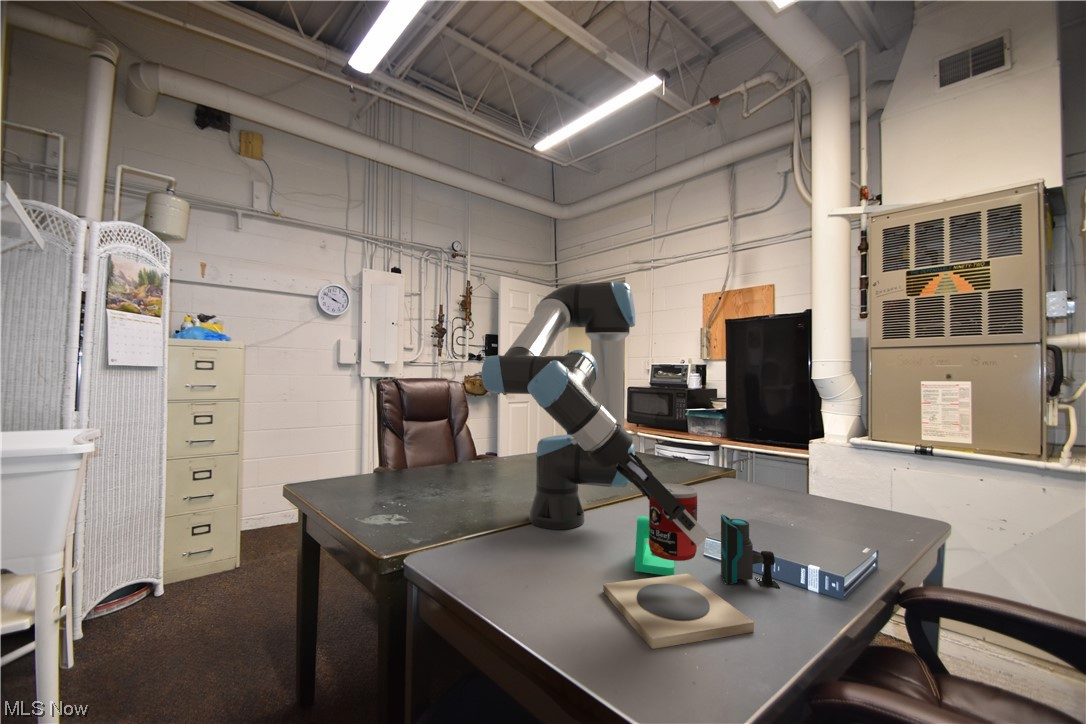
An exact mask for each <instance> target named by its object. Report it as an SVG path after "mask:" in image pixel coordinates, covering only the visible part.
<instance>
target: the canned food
mask: <svg viewBox="0 0 1086 724" xmlns="http://www.w3.org/2000/svg"><path fill="white" fill-rule="evenodd" d="M661 484H662V485H663V486H664V487H665V488H666V489H667V490H668V491H669V492H670V493H671V494H672V495H673V496H674V497H675V498H676V499H677V500H678V501H679V502H680V503H681V504H683V505H684V507H685V508H686V509H685V510H686V511H687V512H688V513H689V514H690V515H691V516H692V517H693V518H694V519H695V520H696V521H697V522H698V490H697V489H696V488H694V487H691V486H690V485H689V486H688V485H685V484H678V483H661ZM648 501H649V502H648V504H649V505H648V508H649V509H648V510H649V511H648V512H649V513H648V514H649V516H648V517H649V539H648V543H649V547H650V551H651V552H652V553H653V554H654V555H655V556H657V557H660V558H663V559H667V560H673V561H675V562H683V561H684V562H685V561H689V560H692V559H693V558H695V557H696V554H697V549H698V546H697V545H696V544H695V543H694V542H693V541H692V540H691V539H690V538H689V537H688V536H687V535H686V534H685V533H684V532H683V531H682V530H681V529H680V528H679V527H678V526H677V525H676V523H675V522H674V521H673V520H672V521H671V522H669V521H668V520H667V519H668V518H669V515H668V514H667V513H666V512H665V511H664V510H663V509H662V508H661V507H660V506H659V505H658V504H657V503H656V502H655V501H654V500H653V499H652V498H651V497H650V496H649V500H648Z"/></svg>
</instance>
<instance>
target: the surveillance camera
mask: <svg viewBox="0 0 1086 724" xmlns="http://www.w3.org/2000/svg"><path fill="white" fill-rule="evenodd" d="M756 564H757V565H758V564H762V565H763V574H762V577H761V578H762V581H760V579H759V580H756V582H757V581H759V582H757V584H758V583H759V584H758V585H760V586H759V587H761V586H767V587H766V588H771V587H776V588H775V589H780V588H781V586H780V585H779V583H778V582H777V581H776V582H777V583H776V582H775V581H772V579H773V577H772V566H774V565H775V554H774V552H772V551H771V550H762V551H760V552H759V551H756V550H754V547H753V543H752V540H751V538H750V522H749V521H747V520H744V519H742V518H741V519H739V518H729V517H728V516H727V515H725V514H720V575H721V574H722V575H721V578H722V577H723V578H722V579H724V580H723V583H724V582H725V583H726V584H725V583H724V584H725V585H732V584H737V583H738V580H744V581H745V580H748V581H749V580H750V581H751V580H753V579H754V578H756V577H757V576H755V577H754V575H753V573H754V570H753V569H754V566H753V565H756ZM753 577H754V578H753ZM757 579H758V578H757ZM777 587H778V588H777Z"/></svg>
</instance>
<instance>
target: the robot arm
mask: <svg viewBox="0 0 1086 724" xmlns="http://www.w3.org/2000/svg"><path fill="white" fill-rule="evenodd" d="M636 323H637V322H636V310H635V304H634V297H633V293H632V289H631V287H630V285H629V284H628V283H626V282H620V281H607V282H604V281H603V282H590V283H571V284H567V285H564V286H561V287H559V288H556V289H554V290H553V291H552V292H549V294H547V295H546V296H544V297H543V298H542V299H541V300H540V301H539V302H538V303H537V305H536V306H535V308H534V312H533V317H532V318H531V319H530V320H529V322H528V323H527V324H526V326H525V328H524V329H523V330H522V331H521V332H520V334H519V335H518V336H517V338H516V339H515V340H514V342H513V343H512V344H511V345H510V347H509V348H508V349H507V351H506V352H505V353H504V355H500V354H497V355H490V356H487V357H486V358H485V359H484V361H483V364H482V367H481V380H482V385H483V387H484V389H485V390H486V391H487V392H489V393H493V394H503V395H507V394H509V395H510V394H512V395H530V396H532V398H533V399H534V400H535V402H537V404H538V406H539V407H540V408H543V410H544V411H545V412H546V413H547V414H548V415H549V416H550V417H551V418H552V419H553V420H555V422H556V423H557V424H558V425H559V426H560V427H561V428H562V429H564V431H565V432H566V434H561V435H552V436H547V437H544V438H543V437H542V438H541V439H539V440H538V442H537V445H536V454H535V458H536V461H535V462H536V469H535V471H536V473H535V475H536V476H535V479H536V480H535V481H536V482H535V483H536V484H535V485H536V487H535V488H536V489H535V494H534V496H533V497H534V498H533V499H532V503H531V506H530V509H529V515H528V520H529V523H530V524H531V525H534V526H535V527H538V528H543V529H548V530H549V529H550V530H567V529H574V528H578V527H581V526H582V525H583V524H584V523H585V512H584V508H583V504H582V501H581V497H580V495H579V485H582V486H583V485H584V486H594V487H604V488H610V489H613V488H620V489H621V488H622V489H623V488H627V487H628V485H629V484H630V483H632V484H633V486H635V487H636V488H637V489H638V490H639V492H641V495H643V496H644V497H646V498H647V500H648V501H649V496H650V497H651V498H652V499H653V500H654V501H655V502H656V503H657V504H658V505H659V506H660V507H661V508H662V509H663V510H664V511H665V512H666V513H667V514H668V515H669V518H668V519H667V520H668V521H669V522H671V521H672V520H673V521H674V522H675V523H676V525H677V526H678V527H679V528H680V529H681V530H682V531H683V532H684V533H685V534H686V535H687V536H688V537H689V538H690V539H691V540H692V541H693V542H694V543H695V544H696V545H697V548H699V547H700V546H701V544H703V542H705V540H707V538H708V537H710V534H709V533H708V531H706V529H705V528H704V527H703V526H702V525H701V524H700V523H699V522H698V520H697V521H696V520H695V519H694V518H693V517H692V516H691V515H690V514H689V513H688V512H687V511H686V510H685V509H686V508H685V507H684V505H683V504H681V503H680V502H679V501H678V500H677V499H676V498H675V497H674V496H673V495H672V494H671V493H670V492H669V491H668V490H667V489H666V488H665V487H664V486H663V485H662V484H663V483H662V482H660V481H659V479H658V478H656V477H655V475H653V472H652V471H651V470H650V469H649V468H648V467H647V466H646V465H645V464H644V463H643V460H642V459H641V458H639V457H638V455H636V445H635V444H634V443H633V441H634V440H633V437H632V435H631V434H630V433H629V432H628V431H627V430H626V429H625V427H624V419H625V418H624V414H625V413H624V411H625V410H624V406H625V405H624V404H625V403H624V401H625V400H624V398H625V397H624V396H625V394H624V385H625V384H624V379H625V377H624V373H625V372H624V371H625V370H624V368H625V367H624V361H625V360H624V359H625V358H624V355H625V354H624V353H625V352H624V351H625V350H624V348H625V347H624V341H625V339H626V338H627V337H628V336H629V335H630V328H633V327H635V326H636ZM568 328H570V329H571V328H584V334H585V336H587V338H588V339H589V340H590V352H589V351H586V350H583V349H574V350H572V351H569V352H567V353H566V354H564V355H548V353H549V351H550V350H551V348H552V346H553V345H554V343H555V341H556V339H558V336H559V334H560V333H562V332H564V331H566V330H567V329H568Z"/></svg>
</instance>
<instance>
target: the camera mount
mask: <svg viewBox="0 0 1086 724" xmlns="http://www.w3.org/2000/svg"><path fill="white" fill-rule="evenodd" d="M635 537H636V538H635V550H634V551H635V552H634V553H635V555H634V572H639V573H646V574H647V573H648V574H653V575H654V574H655V575H660V576H661V575H662V576H671V575H675V570H676V569H675V568H676V567H675V565H676V563H675V562H676V561H673V560H667V559H663V558H660V557H657V556H655V555H654V554H653V553H652V552H651V551H650V547H649V542H648V540H649V516H645V515H643V516H642V515H637V521H636V536H635ZM674 569H675V570H674Z"/></svg>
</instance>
